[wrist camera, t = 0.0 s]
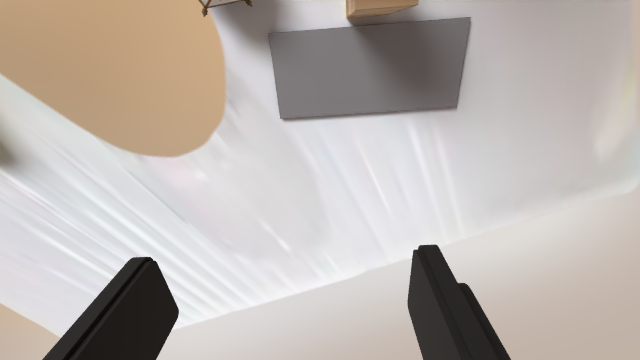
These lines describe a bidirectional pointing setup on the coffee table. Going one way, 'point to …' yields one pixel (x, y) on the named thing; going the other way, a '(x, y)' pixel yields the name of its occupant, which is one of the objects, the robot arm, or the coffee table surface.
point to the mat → (369, 68)
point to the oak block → (376, 7)
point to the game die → (218, 4)
